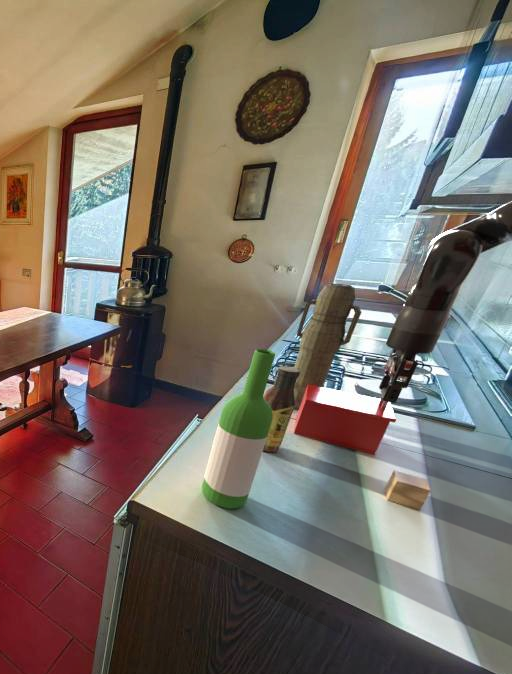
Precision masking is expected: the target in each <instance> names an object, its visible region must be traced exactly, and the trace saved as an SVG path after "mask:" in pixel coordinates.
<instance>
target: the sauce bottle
mask: <svg viewBox="0 0 512 674" xmlns="http://www.w3.org/2000/svg"><path fill="white" fill-rule="evenodd" d="M299 374H300V371H299V370H298V369H295V368H294V367H291V366H286V365H285V366H279V367H278V368H277V371H276V377H275V380H274V382H273V385H272V386H271V387H270V388H268V389H267V390H265V392H264V395H263V397H264V399H265V400H266V401H267V402H268V403H269V405H270V407H271V409H272V413H273V419H272V423H271V427H270V430H269V433H268V436H267V439H266V443H265V446H264V449H263V452H268V453H274V452H275V453H276V452H277V451H279V449H280V447H281V446H282V443H283V441H284V439H285V438H284V437H285V435H286V433H287V430H288V428H289V427H288V426H289V424H290V422H291V418H292V415H293V413H294V410H295V409H294V407H295V399H294V386H295V383H296V380H297V378H298V377H299Z"/></svg>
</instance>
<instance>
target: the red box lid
mask: <svg viewBox="0 0 512 674" xmlns="http://www.w3.org/2000/svg"><path fill="white" fill-rule="evenodd" d="M386 390H387V388H383V389H382V390H380V395H381V398H377V397H372V396H368V395H363V394H357V393H352V392H347V391H342V390H337V389H333V388H329V387H324V388H323V387H319V386H314V385H309V384H308V385H307V390H306V398H305V403H310V404H314V405H319V406H323V407H328V408H332V409H336V410H341V411H345V412H350V413H354V414H359V415H363V416H367V417H372V418H376V419H381V420H385V421H390V423H394V424H395V423H396V421H397V418H396V414H395V412H394V409H393V407H392V403H391V402H386V401H384V400H383V397H384V394H385V392H386Z"/></svg>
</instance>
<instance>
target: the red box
mask: <svg viewBox="0 0 512 674" xmlns="http://www.w3.org/2000/svg"><path fill="white" fill-rule="evenodd" d="M306 390H307V388H306ZM305 398H306V391H305V394H304V396H303V399H302V402H301V405H300V408H299V410H297V413H296V417H295V424H294V430H293V434H294V435H299V436H302V437H306V438H310V439H313V440H317V441H321V442H325V443H328V444H331V445H336V446H339V447H344V448H347V449H351V450H355V451H358V452H362V453H366V454H370V455H373V456H374V455H376V453H377V451H378V449H379V448H380V447H379V446H380V444H381V442H382V440H383V439H384V436H385V433H386V431H387V429H388V427H389V425H390V423H391V422H390V421H385V420H381V419H376V418H372V417H367V416H363V415H359V414H354V413H350V412H345V411H341V410H336V409H332V408H328V407H323V406H319V405H314V404H310V403H305Z"/></svg>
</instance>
